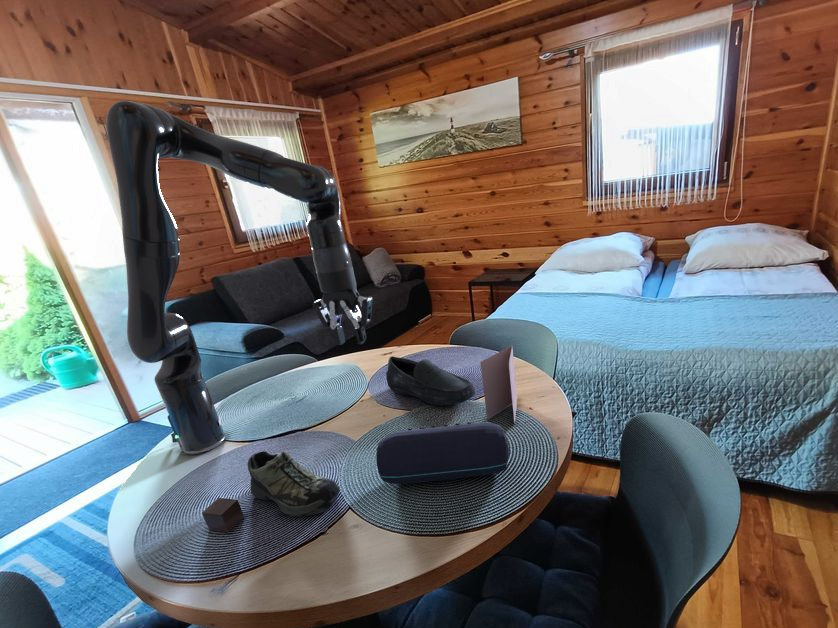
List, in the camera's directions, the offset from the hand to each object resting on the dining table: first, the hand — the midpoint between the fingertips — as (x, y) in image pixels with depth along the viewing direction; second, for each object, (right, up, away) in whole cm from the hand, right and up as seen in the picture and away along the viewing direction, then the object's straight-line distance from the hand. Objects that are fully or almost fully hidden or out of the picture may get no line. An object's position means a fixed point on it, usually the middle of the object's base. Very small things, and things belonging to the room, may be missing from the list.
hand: (351, 342), depth 97 cm
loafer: (+16, -14, +21) cm, 30 cm away
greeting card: (+37, -17, +7) cm, 41 cm away
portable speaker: (+22, -26, -12) cm, 36 cm away
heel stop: (-18, -33, -18) cm, 42 cm away
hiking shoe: (-7, -30, -13) cm, 34 cm away
